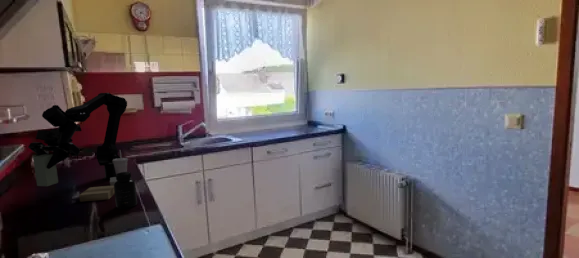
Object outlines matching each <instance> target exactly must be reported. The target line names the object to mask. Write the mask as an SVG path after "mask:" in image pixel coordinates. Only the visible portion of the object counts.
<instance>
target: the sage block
mask: <svg viewBox="0 0 579 258" xmlns="http://www.w3.org/2000/svg"><path fill="white" fill-rule="evenodd" d="M52 155H53V153H52V154H51V153H50V154H49V153H48V154H44V155H40V156H37V155H36V156H33V157H32V159H33V165H34V173H35V181H36V186H37V187H49V186H53V185H55V184H58V183H59V177H58V170H57V164H56V165H54V166H53V167H51V168H50V169H48V168H47V165H48V163H49V161H50V159H51V157H52Z"/></svg>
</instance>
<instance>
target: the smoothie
mask: <svg viewBox="0 0 579 258" xmlns="http://www.w3.org/2000/svg"><path fill="white" fill-rule="evenodd" d="M118 152H119V157H120V158H118V159H114V160H112V162H113V163H114V168H115V172H116V174H118V173H121V172H128V161H129V159H128V157H122V150H121V149H119V150H118Z"/></svg>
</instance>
